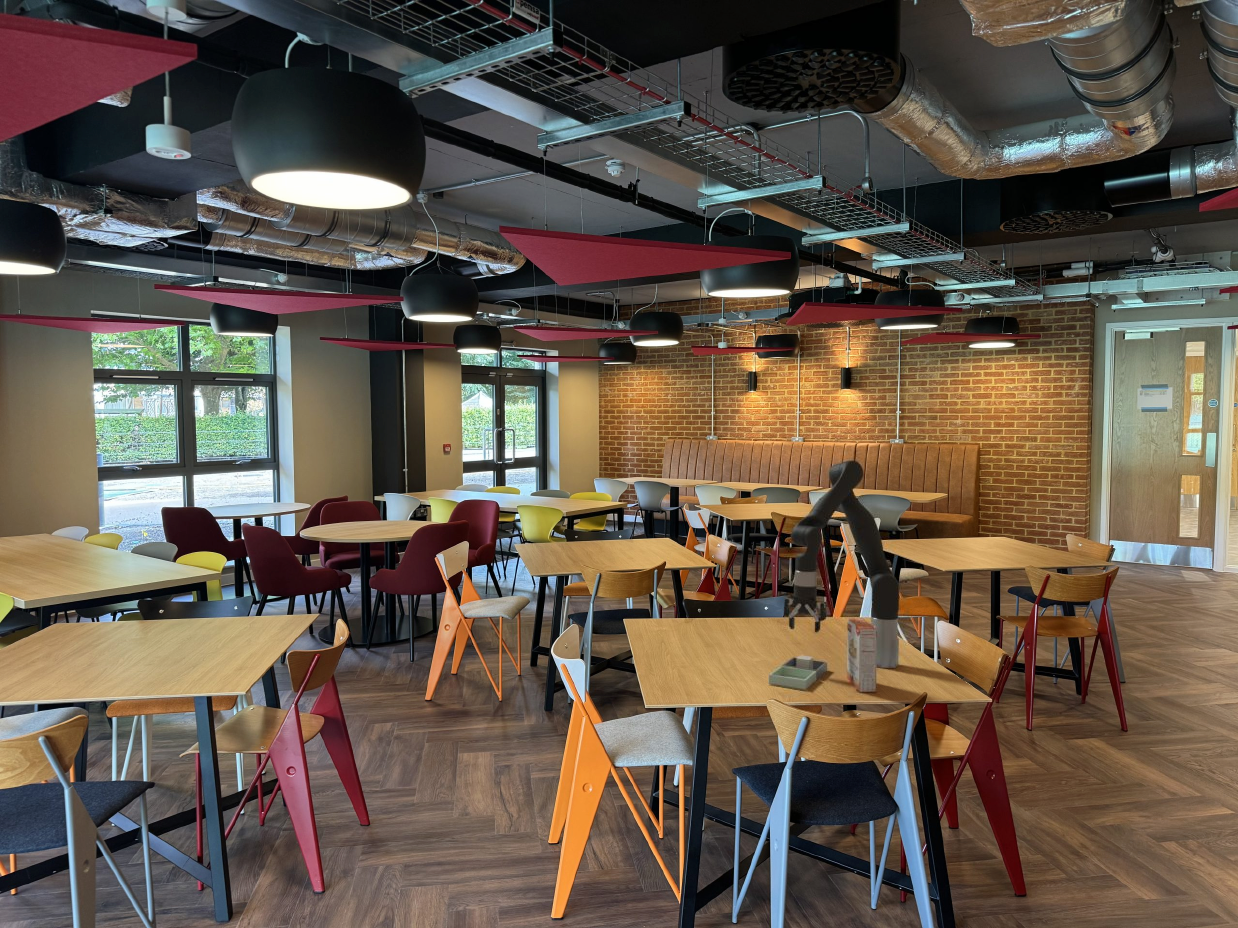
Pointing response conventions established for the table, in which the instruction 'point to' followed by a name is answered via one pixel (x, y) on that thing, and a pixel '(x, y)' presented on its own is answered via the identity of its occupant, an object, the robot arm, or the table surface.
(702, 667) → the table surface
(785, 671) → the bin
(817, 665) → the bin
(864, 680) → the cracker box
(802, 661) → the light grey block
